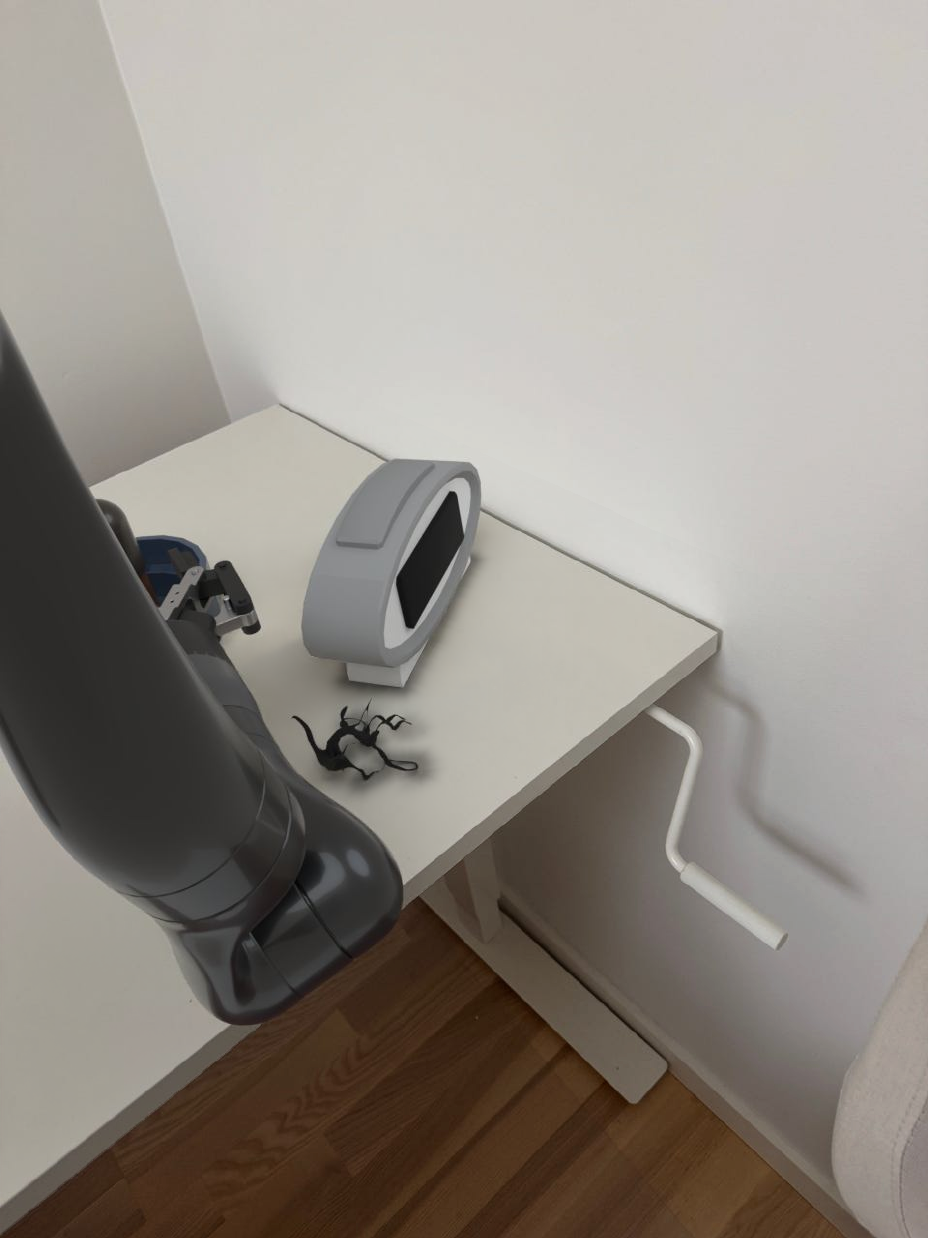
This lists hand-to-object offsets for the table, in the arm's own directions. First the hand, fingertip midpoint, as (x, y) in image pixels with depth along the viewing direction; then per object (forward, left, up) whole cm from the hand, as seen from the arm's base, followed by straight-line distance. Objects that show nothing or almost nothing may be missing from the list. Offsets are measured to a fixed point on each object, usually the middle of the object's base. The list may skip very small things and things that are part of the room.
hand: (117, 582), depth 67 cm
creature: (+11, -14, -13) cm, 22 cm away
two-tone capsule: (+1, +11, -12) cm, 17 cm away
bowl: (+1, +11, -13) cm, 17 cm away
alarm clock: (+21, -2, -13) cm, 24 cm away
